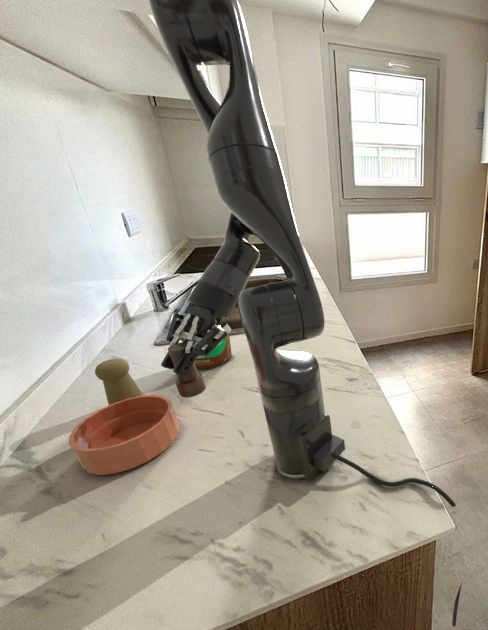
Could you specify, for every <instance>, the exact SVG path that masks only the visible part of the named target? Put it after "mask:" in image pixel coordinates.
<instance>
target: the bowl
mask: <svg viewBox="0 0 488 630" xmlns="http://www.w3.org/2000/svg"><path fill="white" fill-rule="evenodd" d="M180 429H181V425H180V422H179V419H178V417H177V414H176V412H175V409H174V406H173V404H172V401H171V399H169V398H167V397H166V396H164V395H159V394H143V395H141V396H137V397H132V398H127V399H124V400H121V401H119V402H116V403H113V404H111V405H109V404H108V405H107V406H104V407H102V408H99V409H98V410H96V411H95V412H93V413H91V414H90V415H88V416H86V417H85V418H83V419H82V421H81V422H79V423H78V424H77V425H76V426H75V427H74V428H73V430H72V431H71V433H70V434H69V436H68V446H69V447H70V449H71V450H72V453H73V454H74V456H75V458H76V459H77V461H78V463H79V464H80V466H81V468H82V469H83V470H84V471H85V472H86V473H88V474H92V475H97V476H103V475H115V474H118V473H122V472H125V471H130V470H131V469H134V468H136V467H138V466H141V465H143V464H145V463H147V462H149V461H151V460H152V459H153V458H155V457H158V455H160V454H161V453H163V452H164V451H165V450H166V449H167V448H168V447H170V446H171V445H172V444H173V443H174V441H175V440H176V438H177V437H178V435H179V433H180Z"/></svg>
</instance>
